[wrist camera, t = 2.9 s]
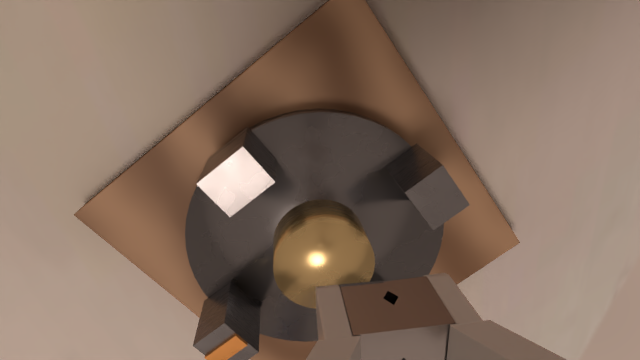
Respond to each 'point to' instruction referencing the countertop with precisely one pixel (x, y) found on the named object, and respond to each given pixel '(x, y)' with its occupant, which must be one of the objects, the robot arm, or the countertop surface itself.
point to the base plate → (278, 98)
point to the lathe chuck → (308, 223)
